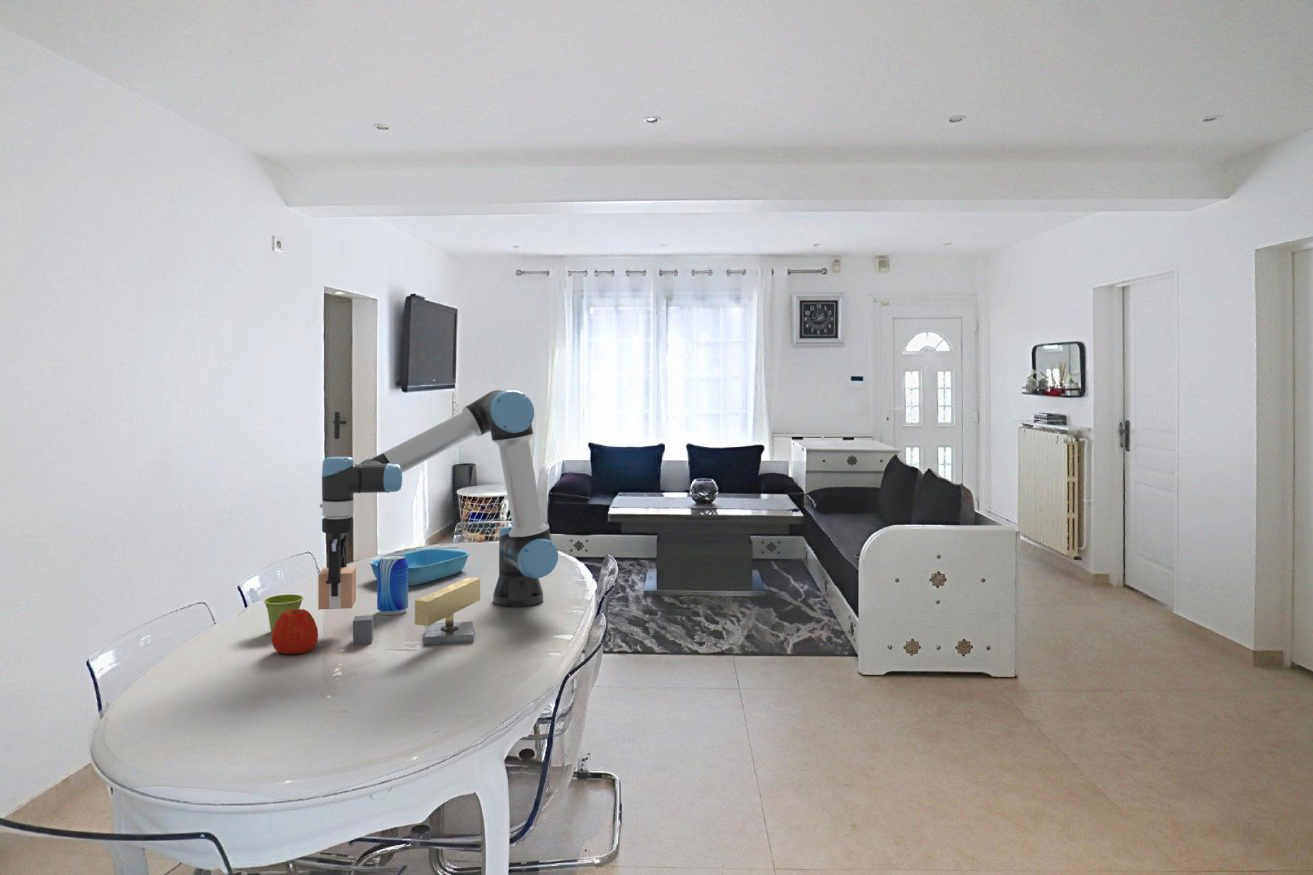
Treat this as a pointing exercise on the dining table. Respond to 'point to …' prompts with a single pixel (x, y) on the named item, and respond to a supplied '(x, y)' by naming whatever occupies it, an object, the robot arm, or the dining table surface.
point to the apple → (294, 632)
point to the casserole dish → (430, 564)
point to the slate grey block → (363, 629)
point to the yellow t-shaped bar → (446, 602)
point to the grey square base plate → (449, 633)
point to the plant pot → (281, 606)
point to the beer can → (392, 585)
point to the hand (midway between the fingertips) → (337, 603)
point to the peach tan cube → (346, 588)
